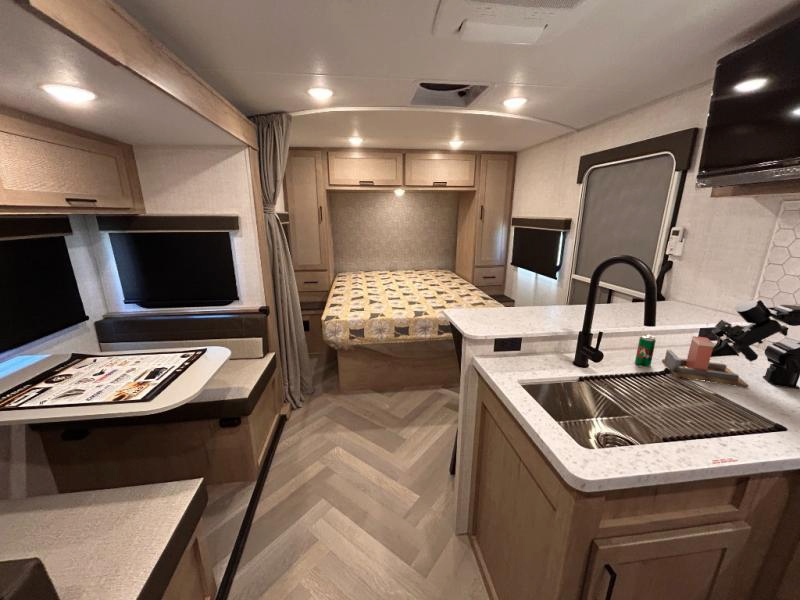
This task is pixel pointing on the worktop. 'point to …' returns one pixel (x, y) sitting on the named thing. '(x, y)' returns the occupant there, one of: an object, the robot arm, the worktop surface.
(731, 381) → the board
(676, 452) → the worktop surface
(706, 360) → the red plug
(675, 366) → the guide rails
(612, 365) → the worktop surface
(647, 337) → the soda can
